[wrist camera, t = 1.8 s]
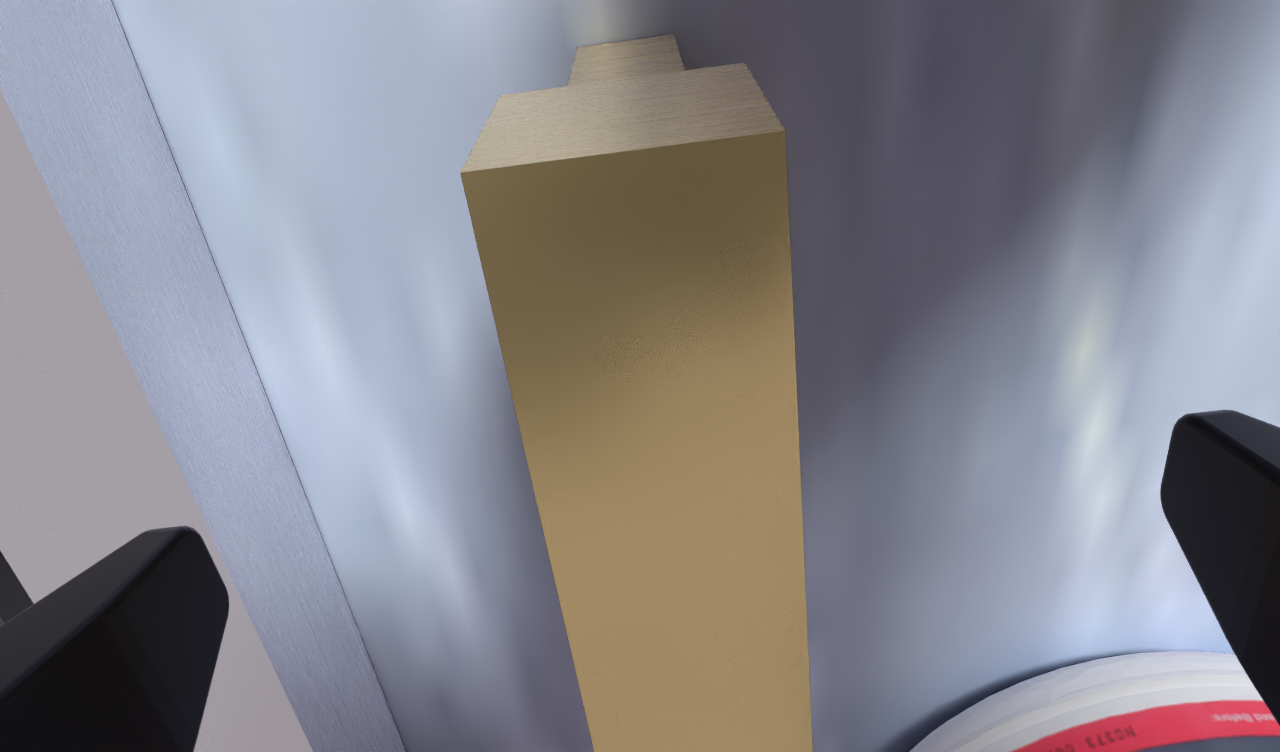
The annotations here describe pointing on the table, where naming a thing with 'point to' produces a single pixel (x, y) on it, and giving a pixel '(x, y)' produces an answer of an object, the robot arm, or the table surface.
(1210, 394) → the table surface
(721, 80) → the tan pronged block
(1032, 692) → the supplement tub
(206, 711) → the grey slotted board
